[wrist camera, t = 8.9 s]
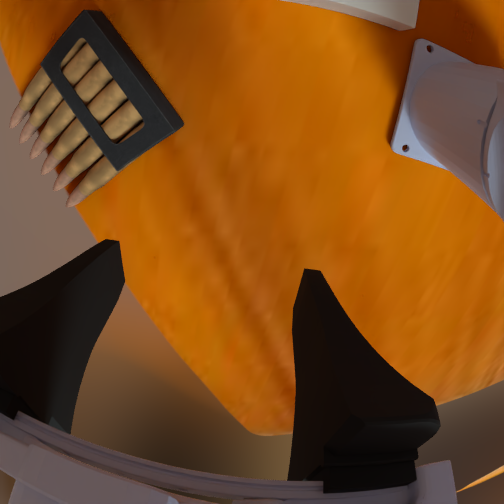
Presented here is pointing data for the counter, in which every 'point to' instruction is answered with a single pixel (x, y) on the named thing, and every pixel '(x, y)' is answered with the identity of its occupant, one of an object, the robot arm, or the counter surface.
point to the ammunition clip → (93, 106)
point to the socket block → (374, 10)
